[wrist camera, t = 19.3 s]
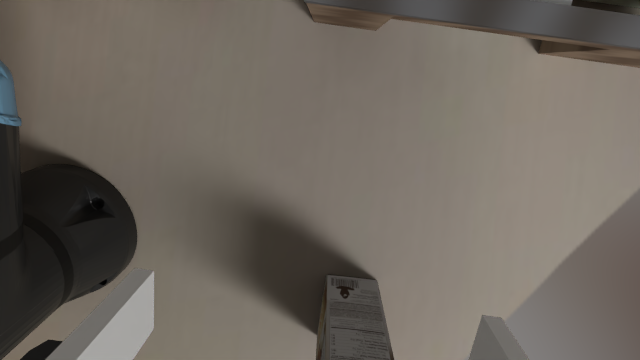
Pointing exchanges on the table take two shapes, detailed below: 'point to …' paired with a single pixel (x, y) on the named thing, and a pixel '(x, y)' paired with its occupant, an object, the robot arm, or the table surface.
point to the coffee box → (352, 321)
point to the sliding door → (620, 2)
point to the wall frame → (504, 23)
